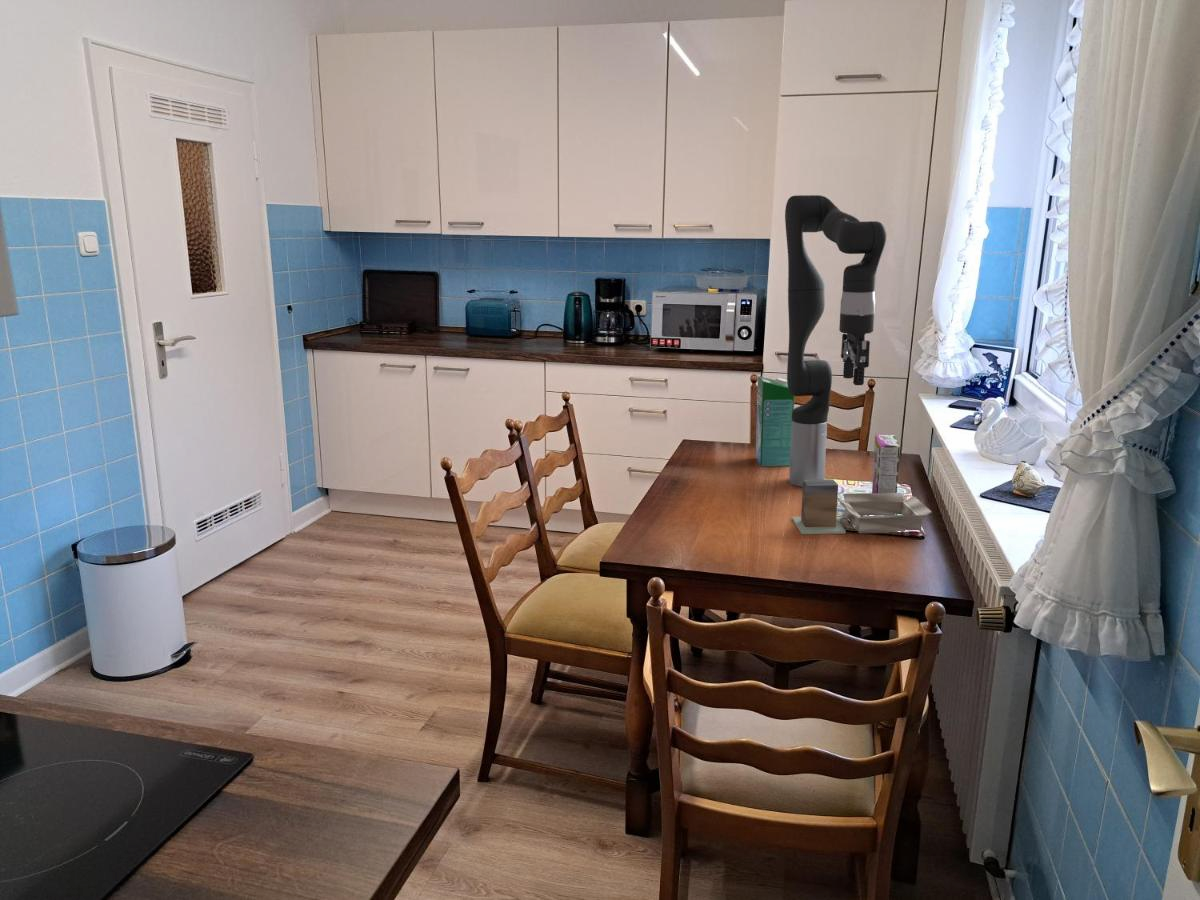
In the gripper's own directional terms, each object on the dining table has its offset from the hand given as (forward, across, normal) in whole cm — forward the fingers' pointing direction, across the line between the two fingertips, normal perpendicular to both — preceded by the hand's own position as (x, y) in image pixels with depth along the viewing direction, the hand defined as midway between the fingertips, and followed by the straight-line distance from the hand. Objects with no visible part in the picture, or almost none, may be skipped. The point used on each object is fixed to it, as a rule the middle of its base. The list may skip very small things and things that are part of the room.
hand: (853, 381), depth 199 cm
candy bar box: (+32, -6, +11) cm, 35 cm away
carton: (+32, +9, +6) cm, 34 cm away
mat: (+32, +10, -9) cm, 35 cm away
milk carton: (+32, -45, -9) cm, 56 cm away
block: (+32, +10, -9) cm, 34 cm away
